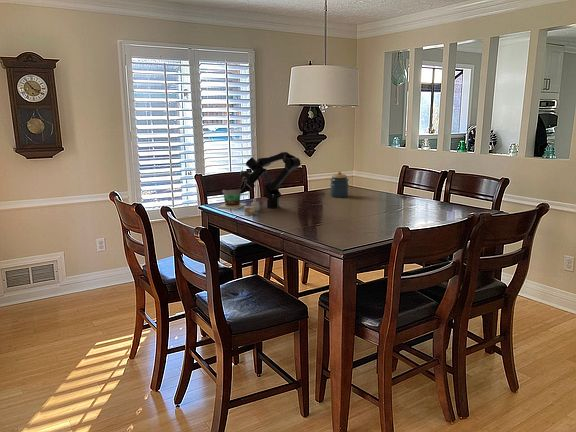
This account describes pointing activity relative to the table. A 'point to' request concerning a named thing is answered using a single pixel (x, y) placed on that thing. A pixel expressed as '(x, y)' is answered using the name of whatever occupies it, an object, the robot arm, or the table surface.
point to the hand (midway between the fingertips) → (239, 192)
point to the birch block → (249, 210)
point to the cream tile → (232, 206)
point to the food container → (232, 197)
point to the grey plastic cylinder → (255, 205)
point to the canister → (339, 185)
